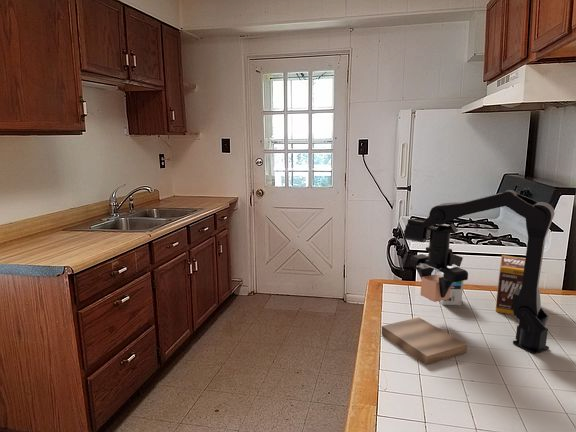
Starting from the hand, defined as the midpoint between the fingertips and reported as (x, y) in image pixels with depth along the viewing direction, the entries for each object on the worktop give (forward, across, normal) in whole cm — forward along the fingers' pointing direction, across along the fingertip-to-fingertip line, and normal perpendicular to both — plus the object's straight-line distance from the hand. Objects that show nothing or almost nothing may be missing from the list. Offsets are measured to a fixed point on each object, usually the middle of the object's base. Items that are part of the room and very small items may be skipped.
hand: (435, 293), depth 128 cm
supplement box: (+9, -4, -32) cm, 34 cm away
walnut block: (+9, -10, +14) cm, 19 cm away
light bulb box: (+9, +10, -16) cm, 21 cm away
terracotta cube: (+1, 0, 0) cm, 1 cm away
